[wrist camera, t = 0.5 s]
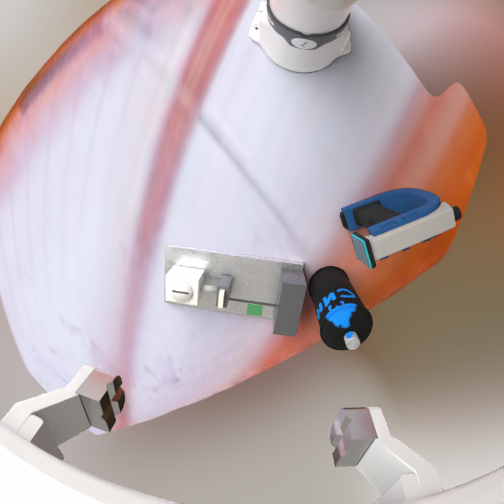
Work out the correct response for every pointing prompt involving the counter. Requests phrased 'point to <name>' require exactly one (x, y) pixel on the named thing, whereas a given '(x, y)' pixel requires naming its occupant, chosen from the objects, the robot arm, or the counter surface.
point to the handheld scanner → (396, 222)
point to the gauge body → (186, 285)
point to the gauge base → (247, 284)
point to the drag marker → (223, 291)
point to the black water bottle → (339, 309)
